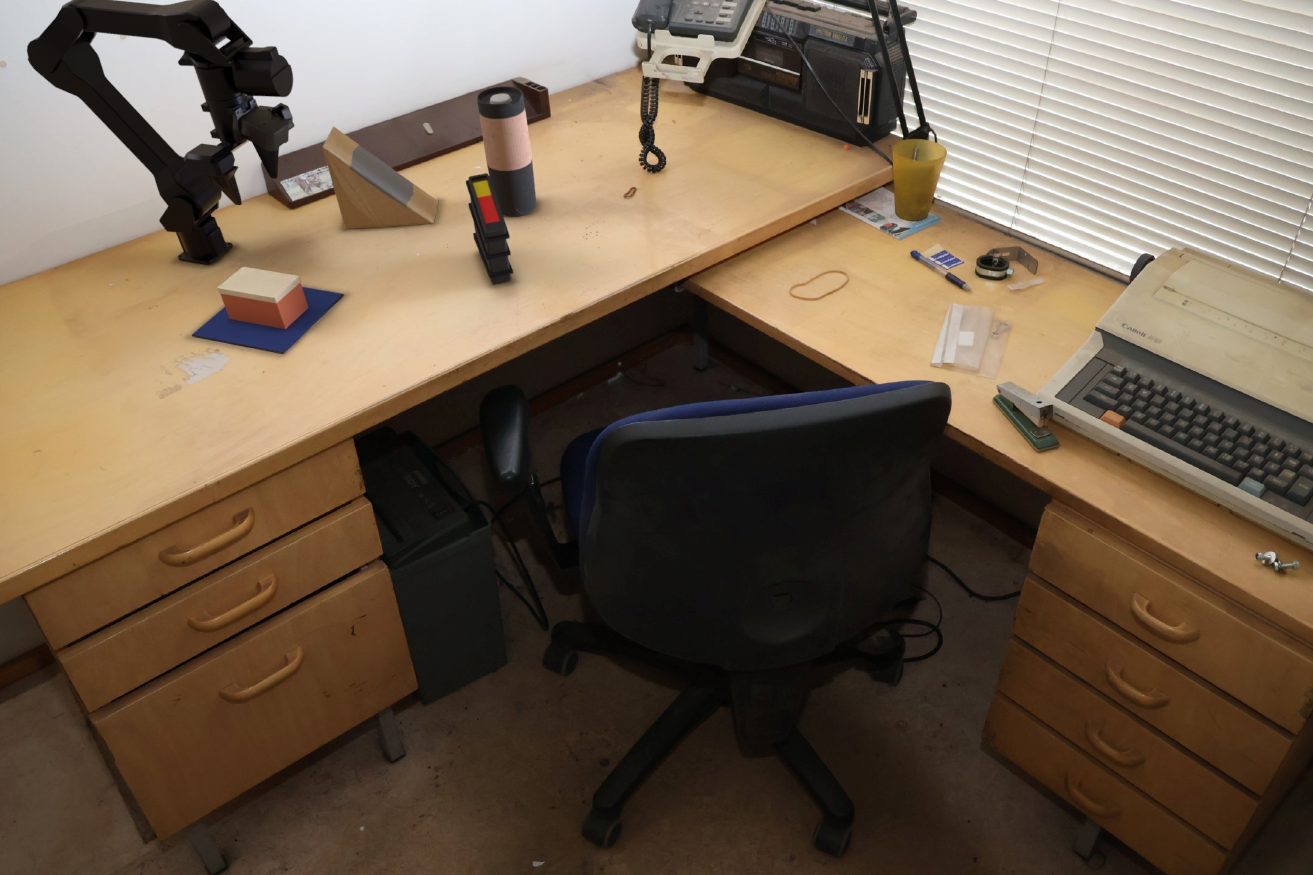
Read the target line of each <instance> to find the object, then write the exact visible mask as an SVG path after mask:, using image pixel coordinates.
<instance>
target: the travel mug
mask: <svg viewBox="0 0 1313 875" xmlns="http://www.w3.org/2000/svg"><path fill="white" fill-rule="evenodd" d="M476 100H477V102H476V103H477V108H478V113H479V120H480V121H479V123H480V128H481V134H482V141H483V147H484V155H485V161H486V167H487V172H488V175H489V176H490V178H491V181H492V184H493V187H494V190H495V193H496V196H497V199H498V202H499V205H500V208H501V211H502V214H503V217H509V218H517V217H523V216H526V215H529V214H531V213H532V212H533V211H535V210H536V208H537V194H536V184H535V175H534V164H533V155H532V148H531V140H530V134H529V126H528V119H527V113H526V112H527V111H526V105H525V98H524V92H523V91H522V90H521V89H520V88H517V87H515V86H508V85H506V86H503V85H502V86H501V85H500V86H495V87H494V86H493V87H489V88H487V89H484V90H481V92H479V93H478V94H477V97H476Z"/></svg>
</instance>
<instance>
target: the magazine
mask: <svg viewBox="0 0 1313 875" xmlns="http://www.w3.org/2000/svg"><path fill="white" fill-rule="evenodd" d="M465 185H466V189H467V192H468V194H469V195H468V196H469V197H470V198H469V199H470V202H468V210H469V212H470V215H471V218H472V221H473V226H474V227H473V228H474V232H472V236H473V240H474V243H475V245H476V247H477V250H478V253H479V256H480V258H481V261H482V263H483V265H484V268H485V270H486V272H487V276H488V278H489V279H490V281H491V283H492V285H498V284H503V283H508V282H511V281H512V274H514V269H513V267H512V265H511V262H510V259H509V256H511V255H512V252H511V249H510V246H509V244H508V240H509V239H510V238H511V237H510V233H509V230H508V226H507V224H506V221H505V216H503V214H502V211H501V208H500V205H499V202H498V199H497V196H496V193H495V190H494V187H493V184H492V181H491V178H490V176H489V173H486V172H484V173H480V174H475V175H470V176H468V179H467V180H465Z"/></svg>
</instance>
